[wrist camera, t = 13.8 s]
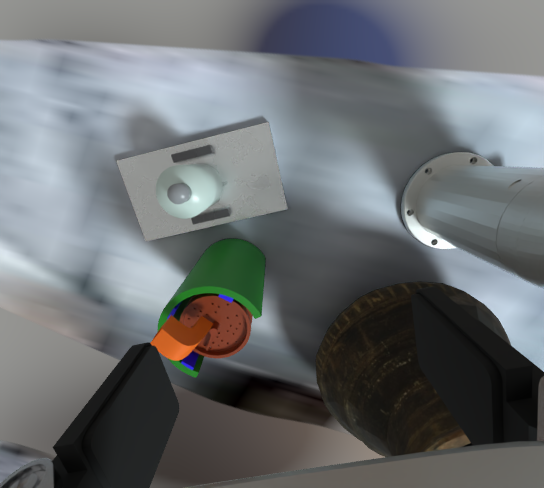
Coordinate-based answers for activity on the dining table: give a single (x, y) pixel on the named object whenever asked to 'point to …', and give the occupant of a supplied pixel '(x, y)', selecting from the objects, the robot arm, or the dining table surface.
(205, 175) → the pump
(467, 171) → the robot arm
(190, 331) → the motor
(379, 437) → the ceramic pot
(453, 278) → the dining table surface
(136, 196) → the clip bracket
